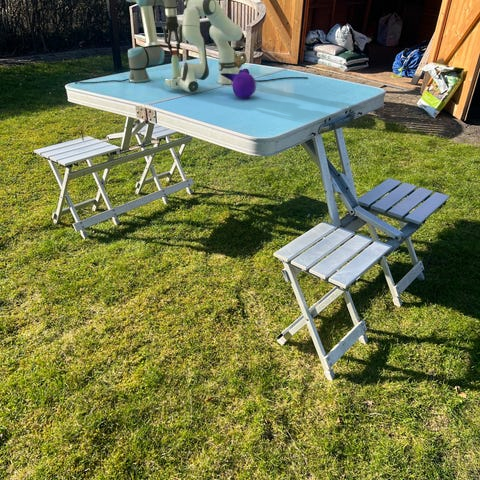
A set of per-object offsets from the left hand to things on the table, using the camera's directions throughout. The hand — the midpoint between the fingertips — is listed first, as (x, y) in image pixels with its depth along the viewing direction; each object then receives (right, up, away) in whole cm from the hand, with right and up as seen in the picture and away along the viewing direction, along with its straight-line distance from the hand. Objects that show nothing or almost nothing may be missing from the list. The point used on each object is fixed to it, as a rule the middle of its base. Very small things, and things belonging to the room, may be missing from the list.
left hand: (174, 54), depth 303 cm
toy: (+44, -32, -13) cm, 56 cm away
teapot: (+40, +15, +69) cm, 81 cm away
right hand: (0, -14, +9) cm, 16 cm away
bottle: (0, -19, +11) cm, 22 cm away
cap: (0, +2, -1) cm, 2 cm away
